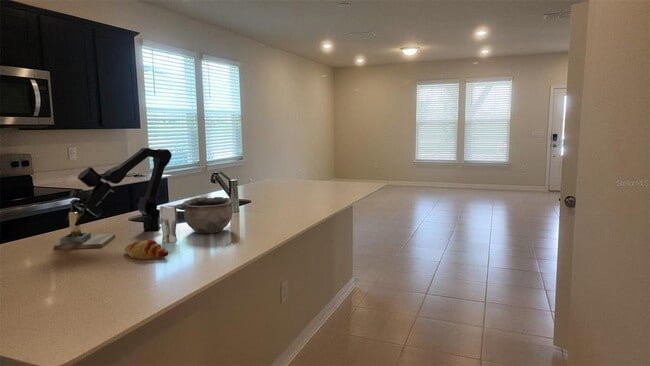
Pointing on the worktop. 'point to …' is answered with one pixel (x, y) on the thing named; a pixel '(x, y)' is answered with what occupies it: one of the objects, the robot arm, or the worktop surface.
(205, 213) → the ceramic bowl
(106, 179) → the robot arm
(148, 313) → the worktop surface
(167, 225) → the beer glass
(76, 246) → the plate
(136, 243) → the croissant
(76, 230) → the pale yellow drinking glass
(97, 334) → the worktop surface
